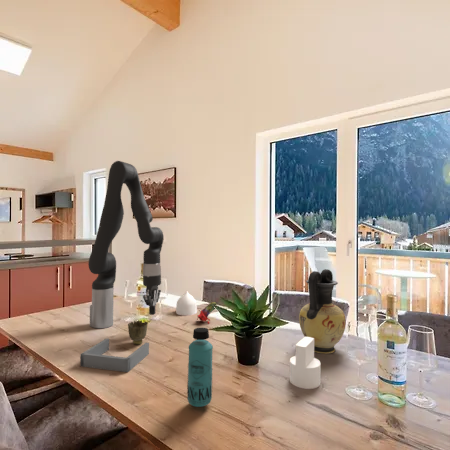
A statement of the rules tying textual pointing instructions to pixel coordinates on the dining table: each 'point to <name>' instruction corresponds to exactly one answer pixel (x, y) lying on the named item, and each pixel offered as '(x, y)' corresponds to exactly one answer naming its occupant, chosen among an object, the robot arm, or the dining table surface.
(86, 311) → the dining table surface
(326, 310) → the amphora
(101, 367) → the box
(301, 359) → the cylinder with rectangular tab
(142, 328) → the cup
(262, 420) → the dining table surface
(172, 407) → the dining table surface
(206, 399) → the beverage bottle
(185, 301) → the teardrop
